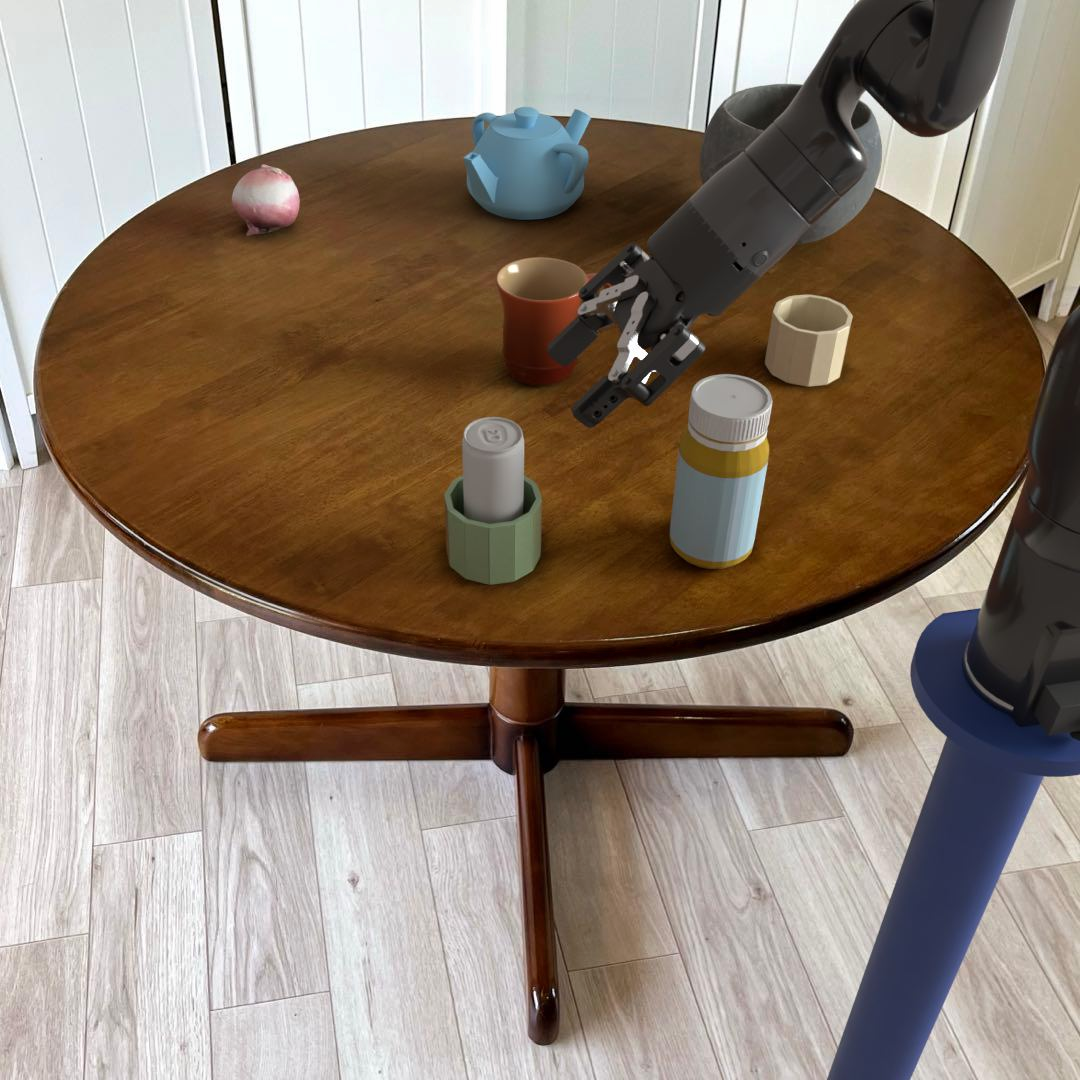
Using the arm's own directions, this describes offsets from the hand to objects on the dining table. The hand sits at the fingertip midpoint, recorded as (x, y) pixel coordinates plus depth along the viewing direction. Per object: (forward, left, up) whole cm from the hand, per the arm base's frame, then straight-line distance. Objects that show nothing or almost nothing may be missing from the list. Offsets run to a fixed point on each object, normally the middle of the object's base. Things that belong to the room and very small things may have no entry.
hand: (566, 388), depth 93 cm
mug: (+27, -5, -16) cm, 32 cm away
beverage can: (0, +6, -16) cm, 17 cm away
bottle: (-2, -12, -16) cm, 20 cm away
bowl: (+52, -38, -16) cm, 67 cm away
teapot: (+66, -10, -16) cm, 69 cm away
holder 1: (0, +6, -16) cm, 17 cm away
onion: (+63, +22, -16) cm, 69 cm away
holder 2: (+23, -30, -16) cm, 41 cm away
